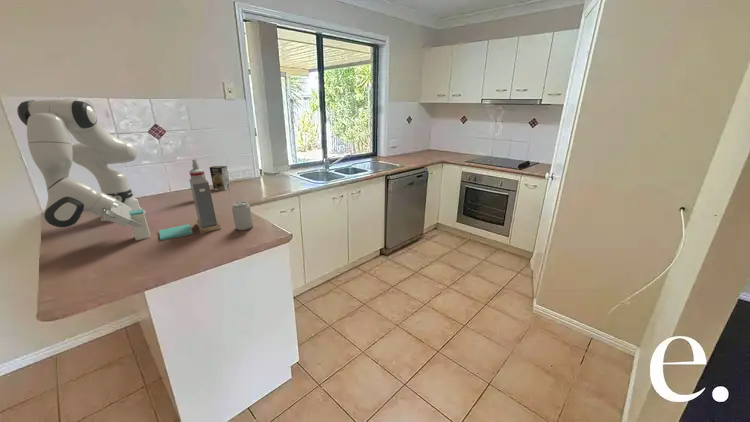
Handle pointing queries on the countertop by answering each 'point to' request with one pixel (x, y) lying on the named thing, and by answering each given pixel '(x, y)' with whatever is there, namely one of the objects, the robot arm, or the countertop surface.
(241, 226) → the can
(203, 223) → the mounted unit
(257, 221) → the countertop surface
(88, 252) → the countertop surface
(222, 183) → the coffee box
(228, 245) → the countertop surface
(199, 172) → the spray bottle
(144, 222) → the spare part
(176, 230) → the pad
